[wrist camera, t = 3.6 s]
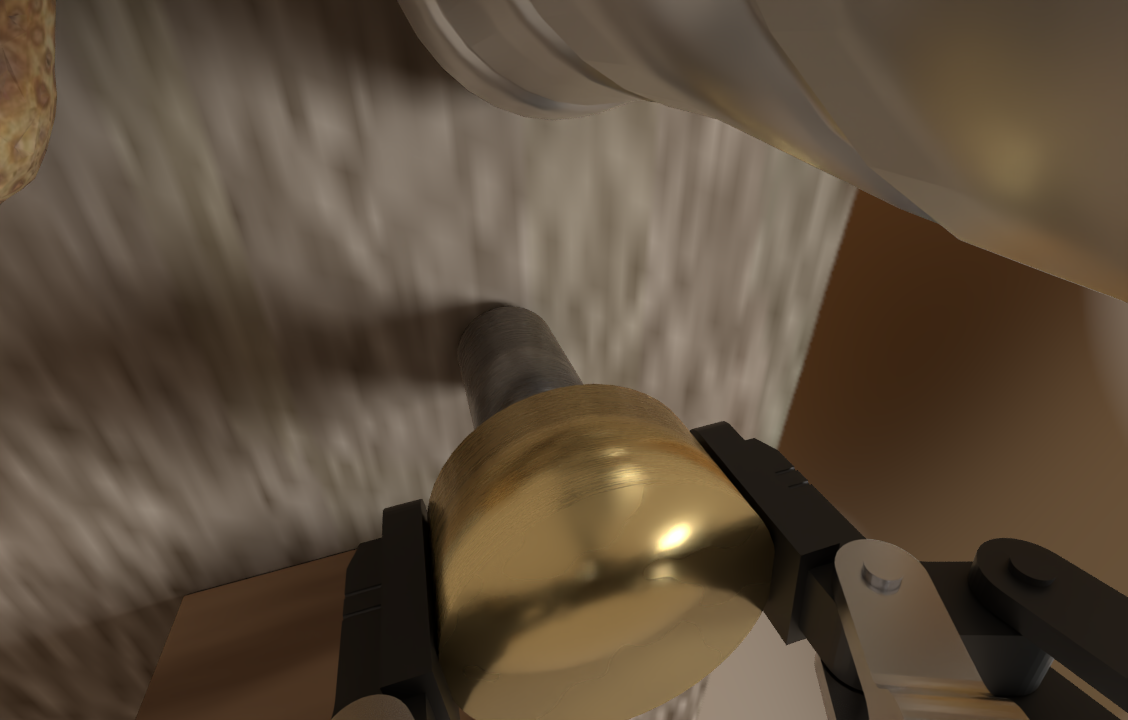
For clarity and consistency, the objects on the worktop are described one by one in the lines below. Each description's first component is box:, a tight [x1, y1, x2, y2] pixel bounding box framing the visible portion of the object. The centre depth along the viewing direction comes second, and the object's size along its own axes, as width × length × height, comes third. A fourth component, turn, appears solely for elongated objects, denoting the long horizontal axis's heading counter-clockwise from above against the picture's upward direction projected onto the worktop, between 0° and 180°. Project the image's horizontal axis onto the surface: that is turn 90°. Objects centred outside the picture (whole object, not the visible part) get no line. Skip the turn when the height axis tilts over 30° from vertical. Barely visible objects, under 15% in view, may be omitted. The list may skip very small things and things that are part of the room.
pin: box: [427, 306, 775, 720], centre depth 13 cm, size 6×6×10 cm
